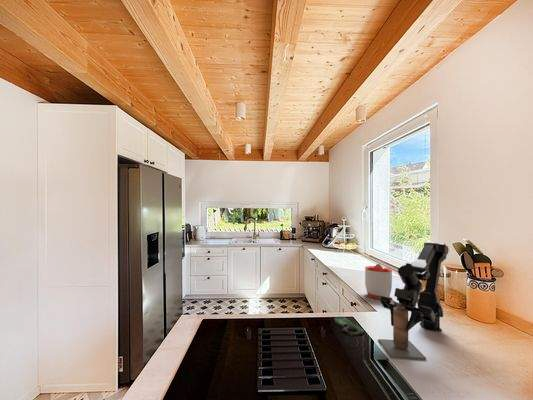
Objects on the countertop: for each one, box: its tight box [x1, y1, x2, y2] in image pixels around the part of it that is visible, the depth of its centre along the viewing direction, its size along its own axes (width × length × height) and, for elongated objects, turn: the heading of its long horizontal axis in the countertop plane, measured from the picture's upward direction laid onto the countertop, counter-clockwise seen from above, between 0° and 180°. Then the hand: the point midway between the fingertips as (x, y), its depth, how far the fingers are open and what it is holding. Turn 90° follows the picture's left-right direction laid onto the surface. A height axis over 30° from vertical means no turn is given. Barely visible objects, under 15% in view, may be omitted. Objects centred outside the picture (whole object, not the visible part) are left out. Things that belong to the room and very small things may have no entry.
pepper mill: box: [392, 305, 409, 348], centre depth 98 cm, size 5×5×14 cm
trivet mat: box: [378, 338, 427, 361], centre depth 97 cm, size 12×12×1 cm
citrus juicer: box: [364, 263, 393, 299], centre depth 160 cm, size 16×17×20 cm
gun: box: [333, 316, 366, 337], centre depth 116 cm, size 16×2×10 cm
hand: (399, 327), depth 97 cm, fingers closed on pepper mill, 5 cm apart
